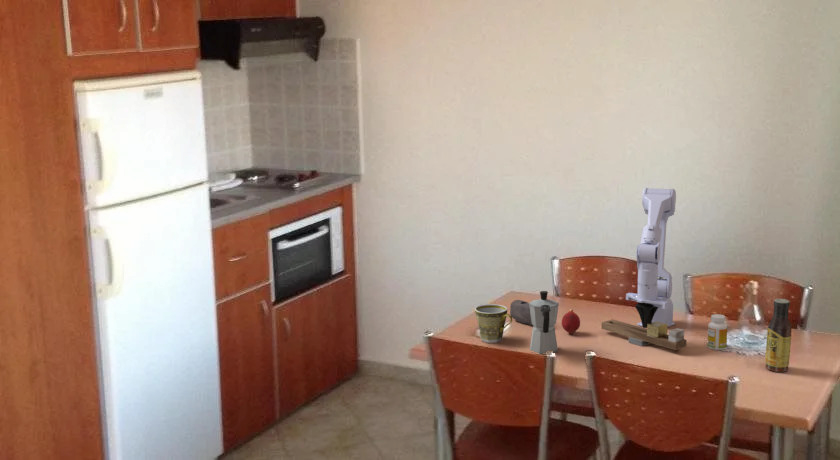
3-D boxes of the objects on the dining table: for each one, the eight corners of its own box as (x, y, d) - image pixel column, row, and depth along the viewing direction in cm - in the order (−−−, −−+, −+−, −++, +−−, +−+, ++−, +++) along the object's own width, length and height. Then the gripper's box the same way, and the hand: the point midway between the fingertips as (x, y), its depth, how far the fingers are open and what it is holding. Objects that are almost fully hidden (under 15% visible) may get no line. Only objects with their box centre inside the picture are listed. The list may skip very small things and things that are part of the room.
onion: (579, 337, 294) (580, 312, 293) (561, 336, 295) (561, 311, 294) (580, 331, 300) (580, 307, 298) (562, 330, 301) (562, 306, 299)
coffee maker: (527, 343, 290) (527, 286, 286) (556, 342, 289) (556, 285, 286) (531, 359, 275) (531, 299, 271) (561, 359, 275) (562, 299, 271)
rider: (656, 337, 287) (656, 321, 286) (667, 340, 284) (667, 323, 283) (646, 340, 284) (647, 323, 283) (657, 343, 281) (658, 326, 280)
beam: (614, 329, 301) (614, 309, 300) (688, 350, 280) (688, 329, 278) (599, 333, 297) (599, 313, 296) (673, 355, 275) (674, 334, 274)
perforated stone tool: (552, 328, 304) (552, 307, 303) (540, 331, 301) (540, 310, 300) (520, 317, 316) (520, 297, 315) (508, 320, 313) (508, 300, 312)
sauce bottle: (760, 366, 265) (764, 297, 261) (782, 364, 266) (786, 296, 262) (771, 374, 259) (775, 303, 255) (793, 372, 259) (797, 302, 255)
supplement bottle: (726, 345, 283) (728, 314, 281) (726, 351, 278) (727, 319, 276) (707, 344, 285) (709, 312, 283) (707, 349, 280) (708, 317, 278)
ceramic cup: (468, 340, 294) (468, 309, 292) (489, 332, 301) (488, 302, 299) (501, 348, 285) (501, 316, 283) (521, 340, 292) (521, 309, 290)
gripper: (619, 281, 287) (618, 324, 289) (659, 290, 276) (657, 335, 278) (634, 277, 291) (633, 319, 294) (674, 286, 280) (672, 330, 283)
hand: (646, 327), depth 286 cm, fingers closed
